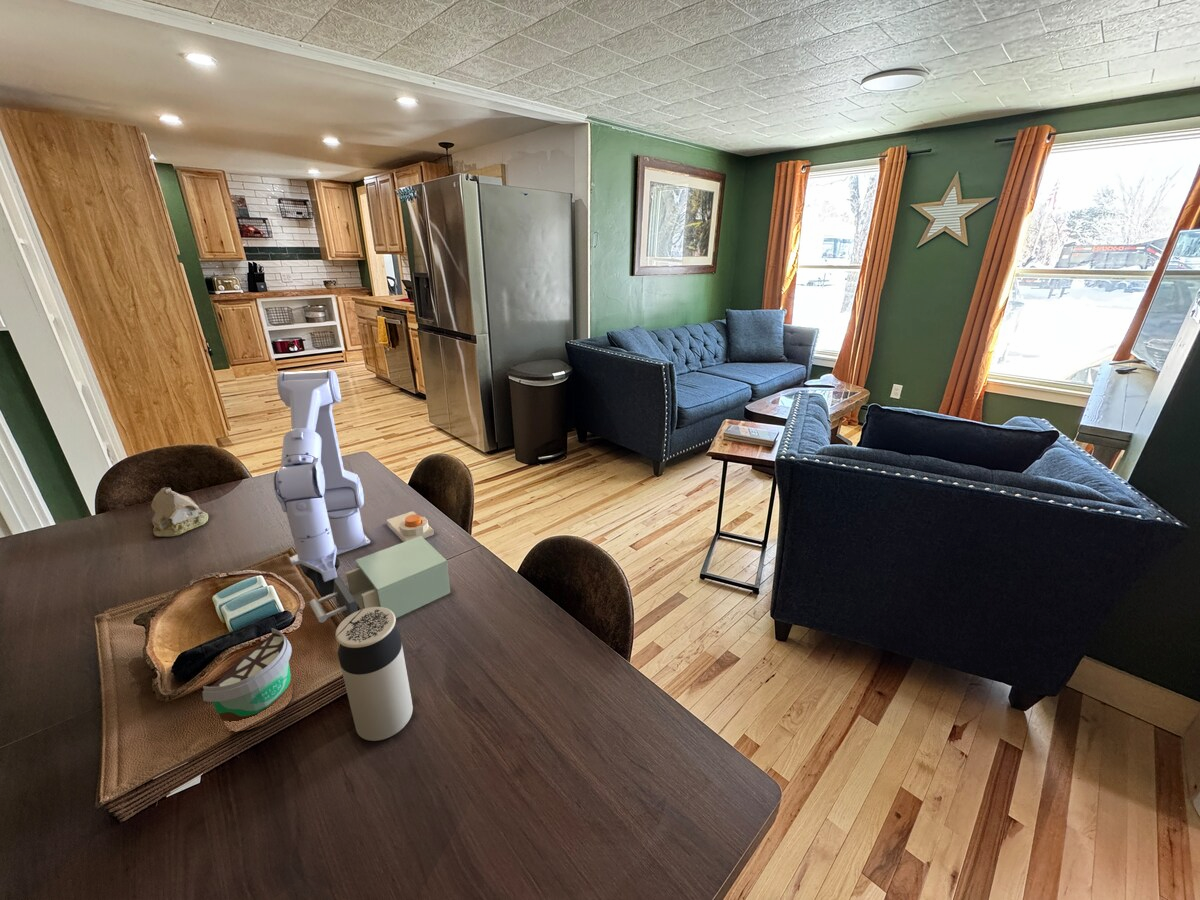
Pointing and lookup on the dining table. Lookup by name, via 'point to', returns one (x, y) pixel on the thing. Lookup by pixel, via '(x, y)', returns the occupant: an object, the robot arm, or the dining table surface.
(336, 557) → the robot arm
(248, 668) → the food container
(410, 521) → the button
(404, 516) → the control block
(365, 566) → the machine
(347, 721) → the dining table surface
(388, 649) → the travel mug
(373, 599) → the compartment
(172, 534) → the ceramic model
